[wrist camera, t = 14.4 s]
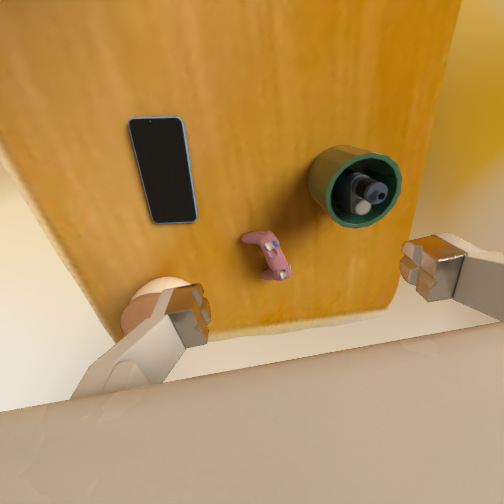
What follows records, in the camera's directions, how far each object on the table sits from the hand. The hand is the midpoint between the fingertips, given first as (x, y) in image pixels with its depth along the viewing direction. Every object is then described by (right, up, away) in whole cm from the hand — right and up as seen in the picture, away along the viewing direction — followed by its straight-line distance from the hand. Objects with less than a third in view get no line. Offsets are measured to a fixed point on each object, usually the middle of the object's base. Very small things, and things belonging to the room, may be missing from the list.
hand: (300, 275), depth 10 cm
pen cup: (+11, +13, +27) cm, 32 cm away
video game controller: (+1, +1, +33) cm, 33 cm away
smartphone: (-15, +12, +26) cm, 32 cm away
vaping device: (+11, +12, +27) cm, 31 cm away
